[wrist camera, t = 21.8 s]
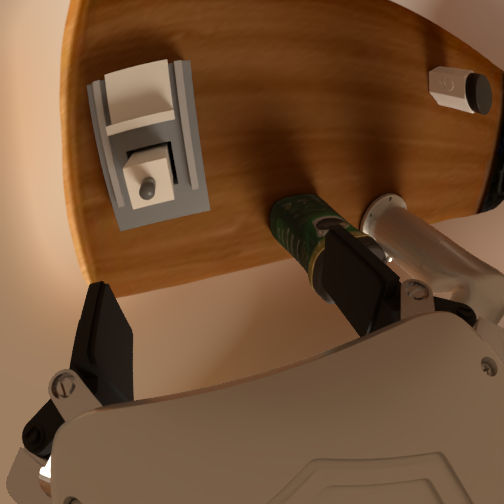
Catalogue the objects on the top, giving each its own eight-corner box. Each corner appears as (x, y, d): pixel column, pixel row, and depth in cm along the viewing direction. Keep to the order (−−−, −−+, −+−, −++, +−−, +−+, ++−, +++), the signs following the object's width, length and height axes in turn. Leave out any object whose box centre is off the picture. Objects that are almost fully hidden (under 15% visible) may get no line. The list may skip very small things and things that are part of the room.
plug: (172, 169, 35) (175, 208, 23) (142, 176, 34) (130, 219, 22) (167, 140, 32) (165, 163, 21) (136, 147, 32) (118, 175, 20)
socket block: (205, 197, 38) (211, 213, 33) (125, 215, 36) (119, 235, 31) (187, 65, 28) (190, 58, 23) (97, 87, 25) (84, 85, 20)
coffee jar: (268, 242, 45) (321, 319, 30) (266, 197, 41) (328, 264, 26) (320, 231, 47) (384, 296, 32) (322, 189, 43) (398, 244, 28)
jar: (427, 61, 34) (475, 67, 24) (447, 70, 36) (492, 78, 26) (427, 101, 39) (475, 113, 29) (447, 107, 41) (491, 120, 31)
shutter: (174, 117, 27) (175, 119, 23) (114, 132, 25) (107, 136, 22) (167, 60, 23) (167, 54, 20) (105, 75, 21) (97, 72, 18)
